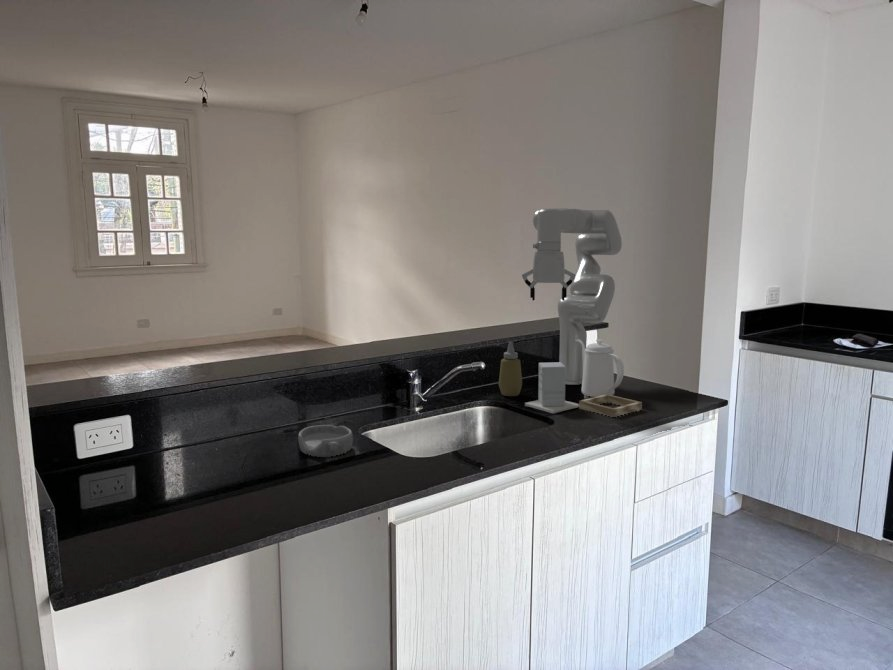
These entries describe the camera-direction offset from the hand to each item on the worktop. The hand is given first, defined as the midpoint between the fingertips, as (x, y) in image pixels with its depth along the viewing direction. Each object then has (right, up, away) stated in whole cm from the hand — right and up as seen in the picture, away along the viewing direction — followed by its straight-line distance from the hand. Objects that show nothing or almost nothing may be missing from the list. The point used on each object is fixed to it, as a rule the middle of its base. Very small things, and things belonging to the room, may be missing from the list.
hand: (548, 300), depth 219 cm
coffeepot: (+17, -32, +6) cm, 37 cm away
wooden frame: (+17, -35, -13) cm, 41 cm away
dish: (-64, -41, -48) cm, 90 cm away
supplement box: (0, -33, -9) cm, 34 cm away
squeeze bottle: (-12, -32, +6) cm, 35 cm away
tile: (0, -34, -9) cm, 35 cm away
